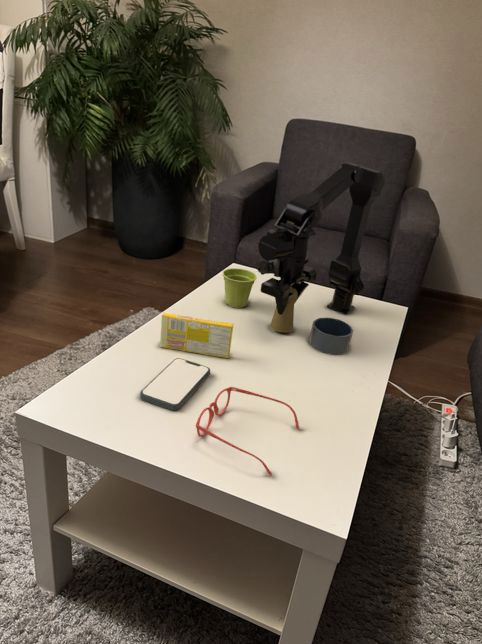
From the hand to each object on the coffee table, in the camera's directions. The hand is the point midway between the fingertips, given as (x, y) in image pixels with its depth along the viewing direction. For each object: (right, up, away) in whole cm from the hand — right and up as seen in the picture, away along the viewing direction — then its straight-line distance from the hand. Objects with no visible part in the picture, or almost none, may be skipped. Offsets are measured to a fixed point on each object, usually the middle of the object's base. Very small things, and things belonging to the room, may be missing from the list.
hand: (284, 311), depth 138 cm
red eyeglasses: (-9, -26, -37) cm, 47 cm away
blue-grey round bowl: (+11, -8, -1) cm, 14 cm away
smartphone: (-23, -18, -26) cm, 39 cm away
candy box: (-21, -10, -13) cm, 27 cm away
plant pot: (-13, +3, +12) cm, 18 cm away
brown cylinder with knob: (-1, -4, +2) cm, 5 cm away
